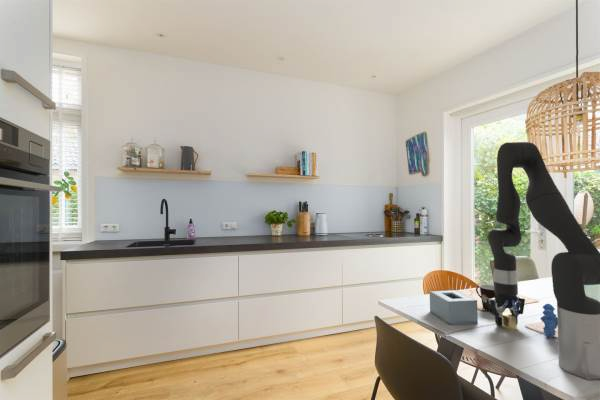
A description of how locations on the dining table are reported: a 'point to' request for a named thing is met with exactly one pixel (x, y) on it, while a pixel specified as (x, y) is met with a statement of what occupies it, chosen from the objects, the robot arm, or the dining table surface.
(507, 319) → the tan wooden block
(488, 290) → the coffee mug
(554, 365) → the dining table surface
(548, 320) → the grapes
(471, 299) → the box
